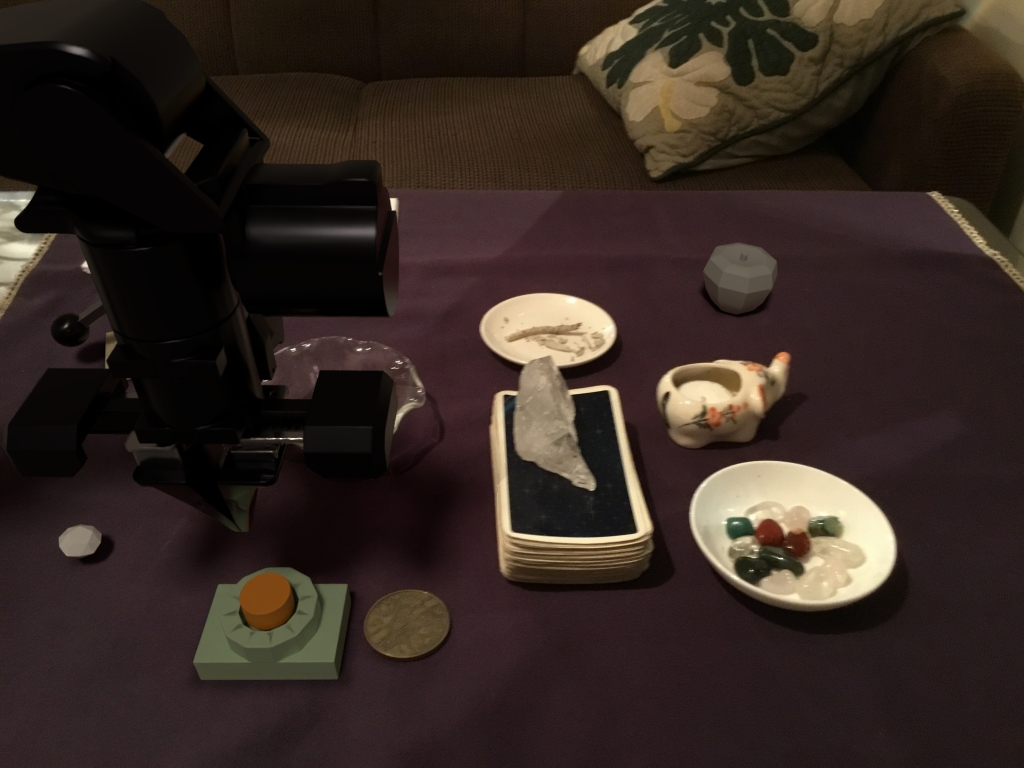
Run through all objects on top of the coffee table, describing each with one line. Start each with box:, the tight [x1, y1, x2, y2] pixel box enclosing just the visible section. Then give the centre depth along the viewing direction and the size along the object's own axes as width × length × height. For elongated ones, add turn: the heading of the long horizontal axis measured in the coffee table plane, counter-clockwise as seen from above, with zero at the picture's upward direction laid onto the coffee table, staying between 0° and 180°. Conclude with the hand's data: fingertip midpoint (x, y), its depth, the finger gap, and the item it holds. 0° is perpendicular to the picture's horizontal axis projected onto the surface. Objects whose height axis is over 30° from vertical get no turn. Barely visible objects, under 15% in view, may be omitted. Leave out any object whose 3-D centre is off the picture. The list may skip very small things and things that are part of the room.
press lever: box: [50, 299, 106, 348], centre depth 73 cm, size 10×3×3 cm, turn 110°
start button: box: [239, 573, 295, 630], centre depth 51 cm, size 3×3×2 cm
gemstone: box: [58, 523, 102, 559], centre depth 58 cm, size 3×3×3 cm
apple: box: [702, 242, 778, 315], centre depth 84 cm, size 8×8×7 cm
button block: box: [192, 566, 352, 681], centre depth 53 cm, size 9×6×4 cm
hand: (244, 525), depth 46 cm, fingers closed
